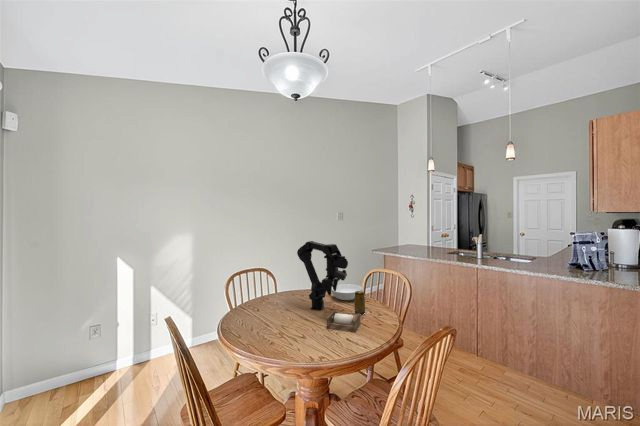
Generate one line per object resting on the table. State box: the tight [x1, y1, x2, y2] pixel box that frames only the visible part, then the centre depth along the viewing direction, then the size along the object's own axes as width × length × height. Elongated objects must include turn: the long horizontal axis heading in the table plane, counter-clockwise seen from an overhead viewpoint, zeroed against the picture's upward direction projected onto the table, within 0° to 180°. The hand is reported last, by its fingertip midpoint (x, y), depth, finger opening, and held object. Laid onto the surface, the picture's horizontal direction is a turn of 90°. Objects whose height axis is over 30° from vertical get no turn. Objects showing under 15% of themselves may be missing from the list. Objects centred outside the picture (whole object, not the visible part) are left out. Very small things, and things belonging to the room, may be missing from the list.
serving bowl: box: [331, 283, 364, 301], centre depth 202 cm, size 21×21×7 cm
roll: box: [334, 312, 355, 326], centre depth 156 cm, size 9×5×5 cm, turn 69°
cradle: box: [325, 310, 361, 333], centre depth 156 cm, size 15×11×6 cm
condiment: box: [351, 290, 370, 317], centre depth 174 cm, size 7×8×12 cm
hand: (332, 293), depth 174 cm, fingers open, 9 cm apart
